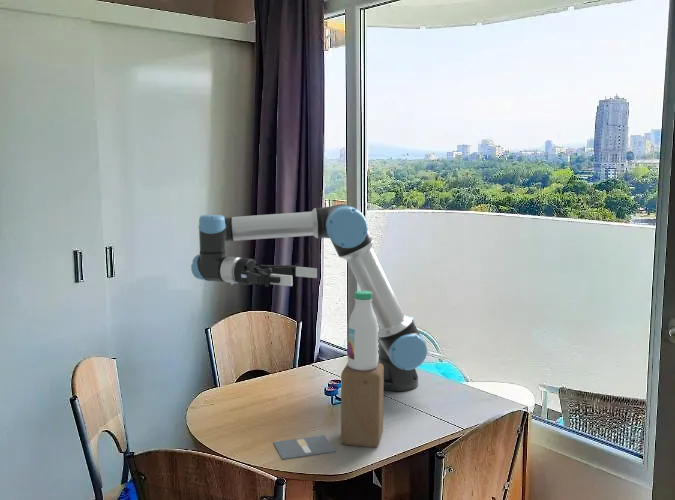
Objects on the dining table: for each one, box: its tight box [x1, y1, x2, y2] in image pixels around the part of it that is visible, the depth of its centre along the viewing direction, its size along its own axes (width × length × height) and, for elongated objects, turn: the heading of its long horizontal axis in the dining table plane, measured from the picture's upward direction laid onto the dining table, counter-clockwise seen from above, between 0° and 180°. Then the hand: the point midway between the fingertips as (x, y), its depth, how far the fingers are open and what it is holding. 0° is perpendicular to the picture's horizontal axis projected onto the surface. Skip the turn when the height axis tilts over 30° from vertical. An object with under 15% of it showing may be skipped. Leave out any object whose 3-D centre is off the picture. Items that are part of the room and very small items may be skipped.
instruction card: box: [272, 434, 337, 461], centre depth 164 cm, size 14×10×1 cm
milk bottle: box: [347, 290, 379, 371], centre depth 165 cm, size 8×8×20 cm
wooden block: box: [340, 362, 384, 448], centre depth 168 cm, size 10×10×20 cm
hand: (304, 276), depth 173 cm, fingers open, 13 cm apart
